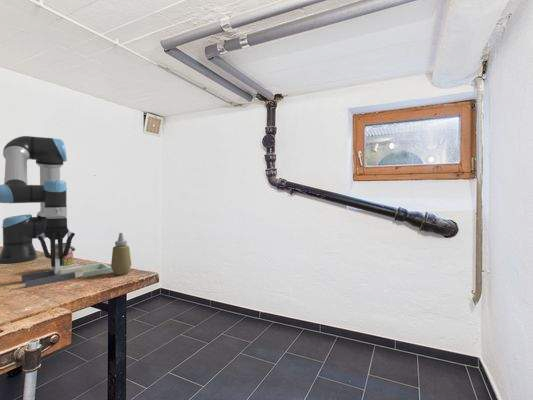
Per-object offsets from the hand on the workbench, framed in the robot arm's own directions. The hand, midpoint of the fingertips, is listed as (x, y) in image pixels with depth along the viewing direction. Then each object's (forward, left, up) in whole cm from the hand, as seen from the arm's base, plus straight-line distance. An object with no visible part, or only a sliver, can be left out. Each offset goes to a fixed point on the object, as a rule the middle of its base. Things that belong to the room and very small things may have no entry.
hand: (57, 273), depth 120 cm
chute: (0, -3, -2) cm, 4 cm away
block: (-1, +5, -2) cm, 5 cm away
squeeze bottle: (+12, +21, -2) cm, 24 cm away
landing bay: (0, +13, -2) cm, 13 cm away
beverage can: (-14, +5, -2) cm, 15 cm away
